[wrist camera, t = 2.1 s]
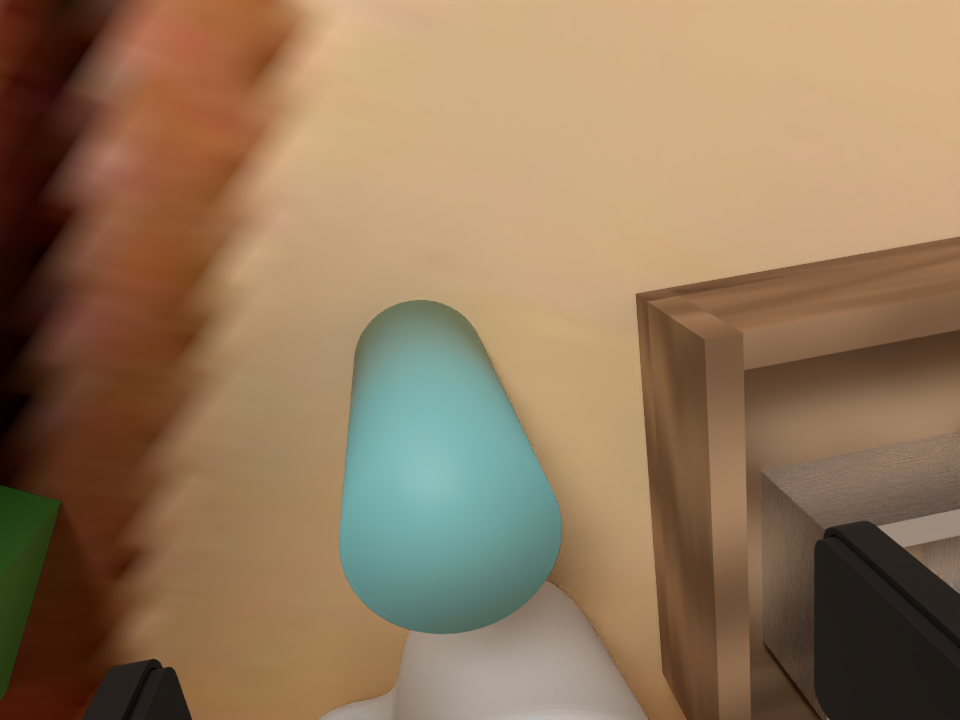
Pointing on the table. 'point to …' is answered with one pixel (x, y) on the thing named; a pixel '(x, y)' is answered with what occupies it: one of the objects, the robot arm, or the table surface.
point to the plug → (440, 479)
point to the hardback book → (20, 566)
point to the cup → (507, 672)
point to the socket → (842, 500)
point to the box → (776, 435)
